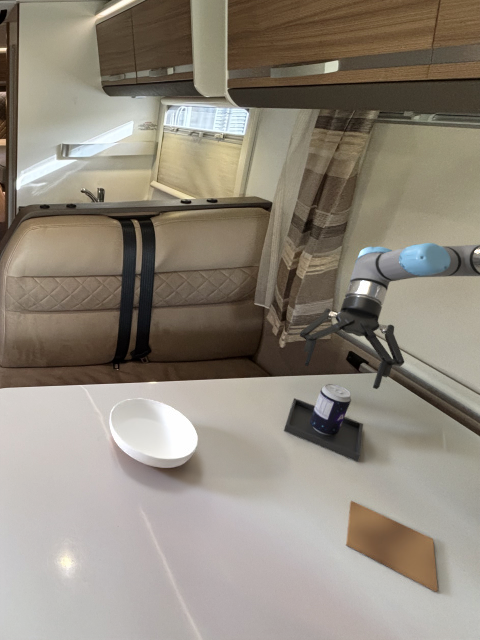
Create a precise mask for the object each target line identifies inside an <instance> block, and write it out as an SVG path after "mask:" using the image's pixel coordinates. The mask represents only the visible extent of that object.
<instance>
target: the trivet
mask: <svg viewBox="0 0 480 640" xmlns="http://www.w3.org/2000/svg"><path fill="white" fill-rule="evenodd" d="M347 521H348V522H347V533H346V541H345V542H346V543H345V546H346V547H349V548H351V549H352V550H355V551H357V552H359V553H360V554H362V555H364V556H366V557H368V558H370V559H372V560H374V561H376V562H378V563H379V564H381V565H383V566H386V567H387V568H389V569H391V570H393V571H395V572H397V573H399V574H400V575H403V576H404V577H406V578H409V579H410V580H413V581H414V582H416V583H418V584H420V585H422V586H424V587H426V588H428V589H430V590H432V591H434V592H435V593H437V592H438V591H439V590H438V578H437V567H436V557H435V546H434V538H432V537H430V536H428V535H426V534H424V533H422V532H420V531H417V530H415V529H413V528H411V527H408V526H406V525H404V524H402V523H400V522H397V521H396V520H393V519H391V518H389V517H388V516H385V515H383V514H381V513H378V512H376V511H375V510H372V509H370V508H368V507H366V506H364V505H361V504H359V503H357V502H355V501H353V500H350V502H349V510H348V520H347Z"/></svg>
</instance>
